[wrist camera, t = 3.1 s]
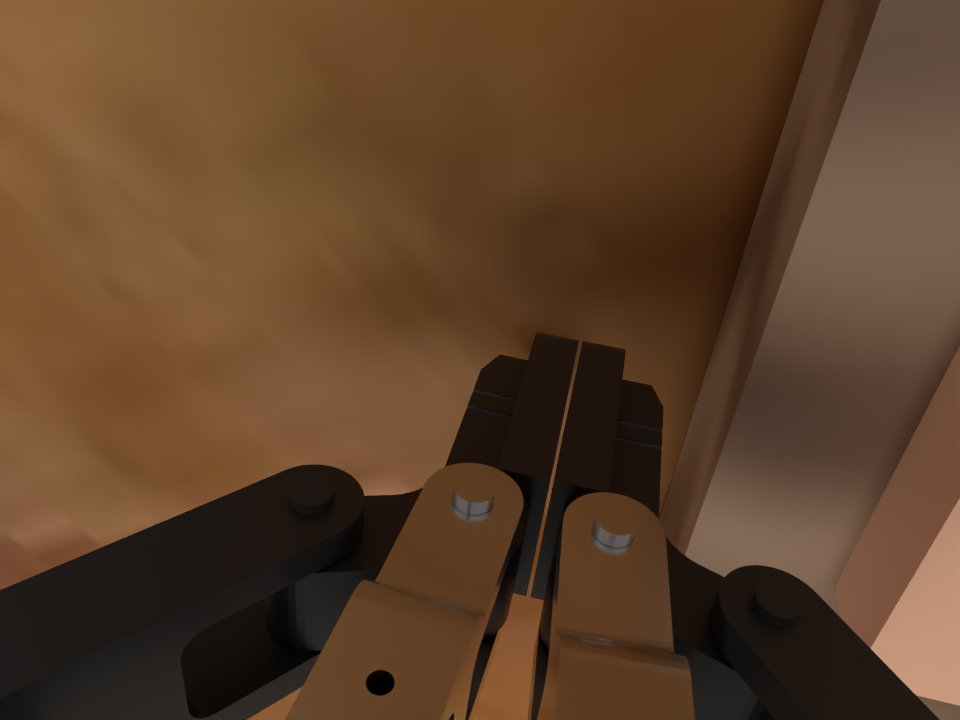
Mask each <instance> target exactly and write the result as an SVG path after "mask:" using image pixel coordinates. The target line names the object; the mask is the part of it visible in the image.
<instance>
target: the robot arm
mask: <svg viewBox="0 0 960 720" xmlns="http://www.w3.org/2000/svg"><path fill="white" fill-rule="evenodd" d="M578 342H579V340H574V339H569V338H564V337H559V336H554V335H549V334H544V333H539V332H537V333H536V335H535V339H534V342H533V345H532V349H531V352H530V356H529V359H528V360H523V359H518V358H513V357H509V356H504V355H499V356H498V357H496V358H495V359H494V360H492V361H491V362H490V363H489V364H487V365H486V366H485V367H484V368H482V369H481V371H480V374H479V377H478V379H477V382H476V385H475V387H474V391H473V393H472V395H471V398H470V401H469V404H468V408H467V409H466V412H465V414H464V417H463V420H462V422H461V425H460V428H459V430H458V433H457V436H456V439H455V441H454V444H453V447H452V449H451V452H450V455H449V457H448V460H447V463H446V465H445V467H444V468H442V469H440V470H438V471H437V472H435V473H434V474H433V475H432V476H431V477H430V478H429V479H428V480H427V482H426V483H425V485H424V487H423V488H421V489H419V490H416V491H413V492H410V493H405V494H400V495H380V496H364V493H363V490H362V488H361V486H360V484H359V483H358V482H357V480H356V479H354V478H353V477H352V476H351V475H350V474H348V473H346V472H345V471H342V470H340V469H338V468H335V467H331V466H326V465H302V466H297V467H293V468H290V469H287V470H285V471H282V472H280V473H278V474H275V475H273V476H270V477H268V478H266V479H263V480H261V481H259V482H256V483H254V484H251V485H249V486H247V487H244V488H242V489H240V490H237V491H235V492H232V493H230V494H228V495H225V496H223V497H221V498H218V499H216V500H213V501H211V502H209V503H206V504H204V505H202V506H199V507H197V508H194V509H192V510H190V511H187V512H185V513H183V514H180V515H178V516H175V517H173V518H171V519H168V520H166V521H164V522H161V523H159V524H156V525H154V526H152V527H149V528H147V529H145V530H142V531H140V532H137V533H135V534H133V535H130V536H128V537H126V538H123V539H121V540H118V541H116V542H114V543H111V544H109V545H107V546H104V547H102V548H99V549H97V550H95V551H92V552H90V553H88V554H85V555H83V556H80V557H78V558H76V559H73V560H71V561H69V562H66V563H64V564H61V565H59V566H57V567H54V568H52V569H50V570H47V571H45V572H42V573H40V574H38V575H35V576H33V577H31V578H28V579H26V580H23V581H21V582H19V583H16V584H14V585H12V586H9V587H7V588H4V589H2V590H0V720H247V719H248V718H250V717H252V716H253V715H255V714H257V713H258V712H260V711H262V710H264V709H265V708H267V707H269V706H270V705H272V704H274V703H275V702H277V701H279V700H280V699H282V698H284V697H285V696H287V695H289V694H290V693H292V692H294V691H295V690H297V689H299V688H301V687H302V686H303V687H302V689H301V691H300V693H299V695H298V696H297V698H296V700H295V702H294V704H293V706H292V708H291V710H290V711H289V713H288V715H287V717H286V719H285V720H472V719H473V716H474V713H475V710H476V707H477V704H478V701H479V698H480V695H481V692H482V688H483V685H484V682H485V679H486V676H487V673H488V670H489V667H490V664H491V661H492V658H493V655H494V652H495V649H496V646H497V643H498V640H499V635H500V630H501V627H502V626H503V624H504V623H505V621H506V619H507V616H508V612H509V608H510V603H511V599H512V595H513V593H515V594H519V595H524V596H526V594H527V589H528V585H529V580H530V575H531V570H532V565H533V561H534V556H535V551H536V546H537V541H538V536H539V532H540V527H541V522H542V517H543V512H544V508H545V503H546V498H547V493H548V488H549V483H550V479H551V474H552V469H553V464H554V459H555V454H556V450H557V445H558V440H559V435H560V430H561V425H562V421H563V416H564V411H565V406H566V401H567V396H568V391H569V386H570V381H571V376H572V372H573V367H574V362H575V357H576V352H577V347H578ZM624 360H625V350H624V349H619V348H614V347H609V346H604V345H599V344H594V343H589V342H584V341H583V342H582V347H581V352H580V357H579V361H578V366H577V371H576V376H575V381H574V386H573V390H572V395H571V400H570V405H569V410H568V414H567V419H566V424H565V429H564V434H563V439H562V444H561V449H560V454H559V459H558V463H557V468H556V473H555V478H554V483H553V488H552V493H551V498H550V503H549V508H548V513H547V518H546V523H545V528H544V533H543V538H542V543H541V548H540V553H539V558H538V563H537V568H536V573H535V578H534V583H533V588H532V593H531V597H533V598H537V599H542V600H544V603H543V608H542V614H541V619H540V624H539V629H538V633H537V638H536V642H535V647H534V657H533V668H532V678H531V689H530V700H529V711H528V720H940V719H939V718H938V717H937V716H936V715H935V714H934V713H933V712H932V711H931V710H930V709H929V708H928V707H927V706H926V705H925V704H924V703H923V702H922V701H921V700H920V699H919V698H918V697H917V696H916V695H915V694H914V693H913V692H912V691H911V690H910V689H909V688H908V687H907V686H906V684H905V683H904V682H903V681H902V680H901V679H900V678H899V677H898V676H897V675H896V674H895V673H894V672H893V671H892V670H891V669H890V668H889V667H888V666H887V665H886V664H885V663H884V662H883V661H882V660H881V659H880V658H879V657H878V656H877V655H876V654H875V653H874V652H873V651H872V650H871V648H870V647H869V646H868V645H867V644H866V643H865V642H864V641H863V640H862V639H861V638H860V637H859V636H858V635H857V634H856V633H855V632H854V631H853V630H852V629H851V628H850V627H849V626H848V625H847V624H846V623H845V622H844V621H843V620H842V619H841V618H840V617H839V616H838V615H837V614H836V612H835V611H834V610H833V609H832V608H831V607H830V606H829V605H828V604H827V603H826V602H825V601H824V600H823V599H822V598H821V597H820V596H819V595H818V594H817V593H816V592H815V591H814V590H813V589H812V588H811V587H810V586H808V585H807V584H806V583H804V582H803V581H802V580H800V579H799V578H797V577H795V576H793V575H792V574H789V573H787V572H785V571H783V570H780V569H776V568H773V567H768V566H762V565H749V566H743V567H739V568H737V569H735V570H733V571H731V572H730V573H729V574H727V575H726V576H725V577H723V576H721V575H719V574H717V573H715V572H713V571H711V570H709V569H707V568H705V567H703V566H701V565H699V564H697V563H696V562H694V561H692V560H690V559H689V558H688V557H686V556H685V555H683V554H682V553H681V552H680V551H679V550H678V549H676V548H675V547H674V545H673V544H672V543H671V542H670V541H669V540H668V538H667V537H666V535H665V530H664V528H663V526H662V524H661V522H660V520H659V495H660V472H661V446H662V426H663V405H662V404H661V402H660V400H659V398H658V396H657V395H656V393H655V391H654V389H653V387H652V386H651V385H647V384H642V383H637V382H632V381H627V380H622V377H623V369H624Z"/></svg>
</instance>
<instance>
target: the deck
mask: <svg viewBox="0 0 960 720" xmlns="http://www.w3.org/2000/svg"><path fill="white" fill-rule="evenodd" d="M959 346H960V0H824V1H823V4H822V7H821V10H820V13H819V16H818V20H817V23H816V26H815V29H814V32H813V35H812V39H811V42H810V45H809V48H808V51H807V54H806V58H805V61H804V64H803V67H802V70H801V73H800V76H799V80H798V83H797V86H796V89H795V92H794V95H793V99H792V102H791V105H790V108H789V111H788V114H787V118H786V121H785V124H784V127H783V130H782V133H781V136H780V140H779V143H778V146H777V149H776V152H775V155H774V159H773V162H772V165H771V168H770V171H769V174H768V178H767V181H766V184H765V187H764V190H763V193H762V196H761V200H760V203H759V206H758V209H757V212H756V215H755V219H754V222H753V225H752V228H751V231H750V234H749V238H748V241H747V244H746V247H745V250H744V253H743V256H742V260H741V263H740V266H739V269H738V272H737V275H736V279H735V282H734V285H733V288H732V291H731V294H730V298H729V301H728V304H727V307H726V310H725V313H724V316H723V320H722V323H721V326H720V329H719V332H718V335H717V339H716V342H715V345H714V348H713V351H712V354H711V358H710V361H709V364H708V367H707V370H706V373H705V376H704V380H703V383H702V386H701V389H700V392H699V395H698V399H697V402H696V405H695V408H694V411H693V414H692V418H691V421H690V424H689V427H688V430H687V433H686V436H685V440H684V443H683V446H682V449H681V452H680V455H679V459H678V462H677V465H676V468H675V471H674V474H673V478H672V481H671V484H670V487H669V490H668V493H667V496H666V500H665V503H664V506H663V509H662V512H661V515H660V519H659V520H660V522H661V524H662V526H663V528H664V530H665V535H666V537H667V538H668V540H669V541H670V542H671V543H672V544H673V545H674V547H675V548H676V549H678V550H679V551H680V552H681V553H682V554H683V555H685V556H686V557H688V558H689V559H690V560H692V561H694V562H696V563H697V564H699V565H701V566H703V567H705V568H707V569H709V570H711V571H713V572H715V573H717V574H719V575H721V576H723V577H725V576H726V575H727V574H729V573H730V572H731V571H733V570H735V569H737V568H739V567H743V566H749V565H762V566H768V567H773V568H776V569H780V570H783V571H785V572H787V573H789V574H792V575H793V576H795V577H797V578H799V579H800V580H802V581H803V582H804V583H806V584H807V585H808V586H810V587H811V588H812V589H813V590H814V591H815V592H816V593H817V594H818V595H819V596H820V597H821V598H822V599H823V600H824V601H825V602H826V603H827V604H828V605H829V606H830V607H831V608H832V609H833V610H834V611H835V612H836V614H837V615H838V616H839V617H840V613H839V608H838V602H837V597H836V591H835V585H836V583H837V581H838V579H839V577H840V576H841V574H842V572H843V570H844V568H845V566H846V564H847V562H848V560H849V558H850V556H851V554H852V552H853V551H854V549H855V547H856V545H857V543H858V541H859V539H860V537H861V535H862V533H863V531H864V529H865V527H866V525H867V524H868V522H869V520H870V518H871V516H872V514H873V512H874V510H875V508H876V506H877V504H878V502H879V500H880V498H881V497H882V495H883V493H884V491H885V489H886V487H887V485H888V483H889V481H890V479H891V477H892V475H893V473H894V471H895V470H896V468H897V466H898V464H899V462H900V460H901V458H902V456H903V454H904V452H905V450H906V448H907V446H908V444H909V443H910V441H911V439H912V437H913V435H914V433H915V431H916V429H917V427H918V425H919V423H920V421H921V419H922V417H923V416H924V414H925V412H926V410H927V408H928V406H929V404H930V402H931V400H932V398H933V396H934V394H935V392H936V391H937V389H938V387H939V385H940V383H941V381H942V379H943V377H944V375H945V373H946V371H947V369H948V367H949V365H950V364H951V362H952V360H953V358H954V356H955V354H956V352H957V350H958V348H959ZM916 696H917V695H916ZM917 697H918V698H919V699H920V700H921V701H922V702H923V703H924V704H925V705H926V706H927V707H928V708H929V709H930V710H931V711H932V712H933V713H934V714H935V715H936V716H937V717H938V718H939V719H940V720H960V706H959V705H955V704H951V703H946V702H942V701H938V700H934V699H929V698H925V697H921V696H917Z"/></svg>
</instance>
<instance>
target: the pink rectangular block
mask: <svg viewBox="0 0 960 720" xmlns="http://www.w3.org/2000/svg"><path fill="white" fill-rule="evenodd" d="M835 591H836V597H837V602H838V608H839V613H840V618H841V619H842V620H843V621H844V622H845V623H846V624H847V625H848V626H849V627H850V628H851V629H852V630H853V631H854V632H855V633H856V634H857V635H858V636H859V637H860V638H861V639H862V640H863V641H864V642H865V643H866V644H867V645H868V646H869V647H870V648H871V650H872V651H873V652H874V653H875V654H876V655H877V656H878V657H879V658H880V659H881V660H882V661H883V662H884V663H885V664H886V665H887V666H888V667H889V668H890V669H891V670H892V671H893V672H894V673H895V674H896V675H897V676H898V677H899V678H900V679H901V680H902V681H903V682H904V683H905V684H906V686H907V687H908V688H909V689H910V690H911V691H912V692H913V693H914V694H915V695H917V696H921V697H925V698H929V699H934V700H938V701H942V702H946V703H951V704H955V705H959V706H960V346H959V348H958V350H957V352H956V354H955V356H954V358H953V360H952V362H951V364H950V365H949V367H948V369H947V371H946V373H945V375H944V377H943V379H942V381H941V383H940V385H939V387H938V389H937V391H936V392H935V394H934V396H933V398H932V400H931V402H930V404H929V406H928V408H927V410H926V412H925V414H924V416H923V417H922V419H921V421H920V423H919V425H918V427H917V429H916V431H915V433H914V435H913V437H912V439H911V441H910V443H909V444H908V446H907V448H906V450H905V452H904V454H903V456H902V458H901V460H900V462H899V464H898V466H897V468H896V470H895V471H894V473H893V475H892V477H891V479H890V481H889V483H888V485H887V487H886V489H885V491H884V493H883V495H882V497H881V498H880V500H879V502H878V504H877V506H876V508H875V510H874V512H873V514H872V516H871V518H870V520H869V522H868V524H867V525H866V527H865V529H864V531H863V533H862V535H861V537H860V539H859V541H858V543H857V545H856V547H855V549H854V551H853V552H852V554H851V556H850V558H849V560H848V562H847V564H846V566H845V568H844V570H843V572H842V574H841V576H840V577H839V579H838V581H837V583H836V585H835Z"/></svg>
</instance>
